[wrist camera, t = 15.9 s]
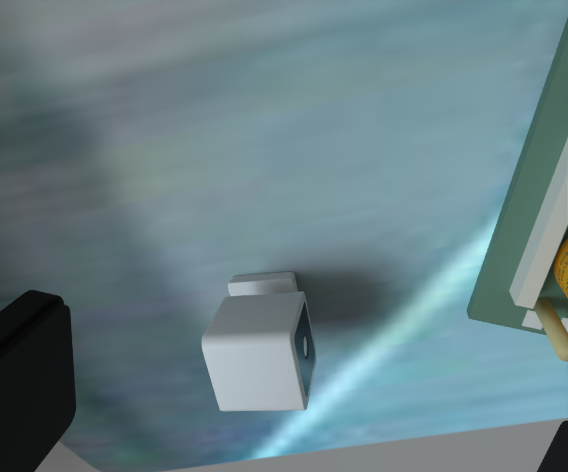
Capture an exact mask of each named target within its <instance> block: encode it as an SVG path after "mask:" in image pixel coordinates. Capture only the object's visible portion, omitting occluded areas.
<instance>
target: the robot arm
mask: <svg viewBox="0 0 568 472" xmlns="http://www.w3.org/2000/svg"><path fill="white" fill-rule="evenodd" d="M75 412H76V397H75V381H74V364H73V348H72V332H71V316H70V309H69V307H68V306H67V305H64V302H63V299H62V298H61V297H60V296H58V295H53V294H49V293H44V292H40V291H36V290H29V291H27V292H25V293H24V294H22V295H21V296H20V297H19V298H17V299H16V300H15V301H13V302H12V303H11V304H9V305H8V306H7V307H6V308H4V309H3V310H2V311H0V472H34V471H35V470H36V469H37V467H38V466H39V465H40V464H41V462H42V461H43V460H44V458H45V457H46V456H47V455H48V453H49V452H50V450H51V449H52V448H53V447H54V445H55V444H56V443H57V442H58V440H59V439H60V438H61V436H62V435H63V434H64V433H65V431H66V430H67V429H68V427H69V426H70V424H71V423H72V421H73V418H74V415H75ZM537 472H568V421H564V422H562V424H561V425H560V427H559V429H558V431H557V433H556V435H555V437H554V439H553V441H552V443H551V445H550V447H549V449H548V451H547V453H546V455H545V457H544V459H543V461H542V463H541V465H540V467H539V469H538V471H537Z"/></svg>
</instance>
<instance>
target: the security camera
mask: <svg viewBox="0 0 568 472" xmlns="http://www.w3.org/2000/svg"><path fill="white" fill-rule="evenodd" d="M228 289H229V293H230V297H225V298H224V300H223V302H222V303H221V305H220V307H219V309H218V310H217V312H216V314H215V316H214V317H213V319H212V321H211V323H210V324H209V326H208V328H207V330H206V331H205V333H204V335H203V338H202V350H203V354H204V357H205V361H206V364H207V367H208V371H209V374H210V378H211V381H212V384H213V388H214V391H215V395H216V398H217V402H218V405H219V408H220V410H221V411H274V410H306V409H307V405H308V400H309V395H310V390H311V385H312V380H313V375H314V371H315V366H316V348H315V343H314V338H313V333H312V328H311V322H310V317H309V312H308V307H307V301H306V296H305V293H304V292H303V291H301V292H298V289H297V284H296V279H295V274H294V273H293V272H279V273H267V274H255V275H242V276H233V277H232V279H231V281H230V282H229V284H228Z"/></svg>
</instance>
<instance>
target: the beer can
mask: <svg viewBox="0 0 568 472" xmlns="http://www.w3.org/2000/svg"><path fill="white" fill-rule="evenodd" d="M554 274H555V278H556V280H557V282H558V284H559V285H560V287H561V289H562V290H563V292H564V293H565V295H566V296H567V298H568V239H567V240H566V241H565V242H564V243H563V244H562V246H561V247H560V249H559V250H558V252H557V255H556V257H555V261H554Z"/></svg>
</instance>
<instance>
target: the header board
mask: <svg viewBox="0 0 568 472" xmlns="http://www.w3.org/2000/svg"><path fill="white" fill-rule="evenodd" d="M567 239H568V19H567V22H566V25H565V28H564V31H563V34H562V36H561V39H560V42H559V45H558V48H557V51H556V54H555V57H554V60H553V62H552V65H551V68H550V71H549V74H548V77H547V80H546V83H545V86H544V88H543V91H542V94H541V97H540V100H539V103H538V106H537V109H536V111H535V114H534V117H533V120H532V123H531V126H530V129H529V132H528V135H527V137H526V140H525V143H524V146H523V149H522V152H521V155H520V158H519V161H518V163H517V166H516V169H515V172H514V175H513V178H512V181H511V184H510V187H509V189H508V192H507V195H506V198H505V201H504V204H503V207H502V210H501V213H500V215H499V218H498V221H497V224H496V227H495V230H494V233H493V236H492V239H491V241H490V244H489V247H488V250H487V253H486V256H485V259H484V262H483V265H482V267H481V270H480V273H479V276H478V279H477V282H476V285H475V288H474V291H473V293H472V296H471V299H470V302H469V305H468V308H467V313H468V317H469V319H474V320H478V321H483V322H488V323H492V324H497V325H502V326H507V327H511V328H516V329H521V330H525V331H530V332H535V333H539V334H544V335H547V336H548V338H549V340H550V342H551V344H552V346H553V348H554V350H555V352H556V354H557V356H558V358H559V359H560V360H562V361H568V298H567V296H566V295H565V293H564V292H563V290H562V289H561V287H560V285H559V284H558V282H557V280H556V278H555V274H554V261H555V257H556V255H557V252H558V250H559V249H560V247H561V246H562V244H563V243H564V242H565V241H566V240H567Z"/></svg>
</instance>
